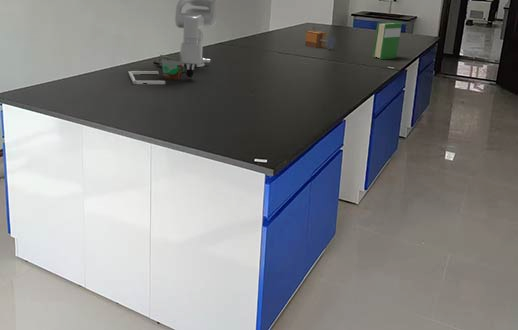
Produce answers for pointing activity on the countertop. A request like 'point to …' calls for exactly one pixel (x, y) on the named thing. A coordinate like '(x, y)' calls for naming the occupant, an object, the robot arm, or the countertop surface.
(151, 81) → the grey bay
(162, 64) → the handheld radio
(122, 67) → the countertop surface
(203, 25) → the robot arm
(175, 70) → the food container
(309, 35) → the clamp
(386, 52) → the hardback book
